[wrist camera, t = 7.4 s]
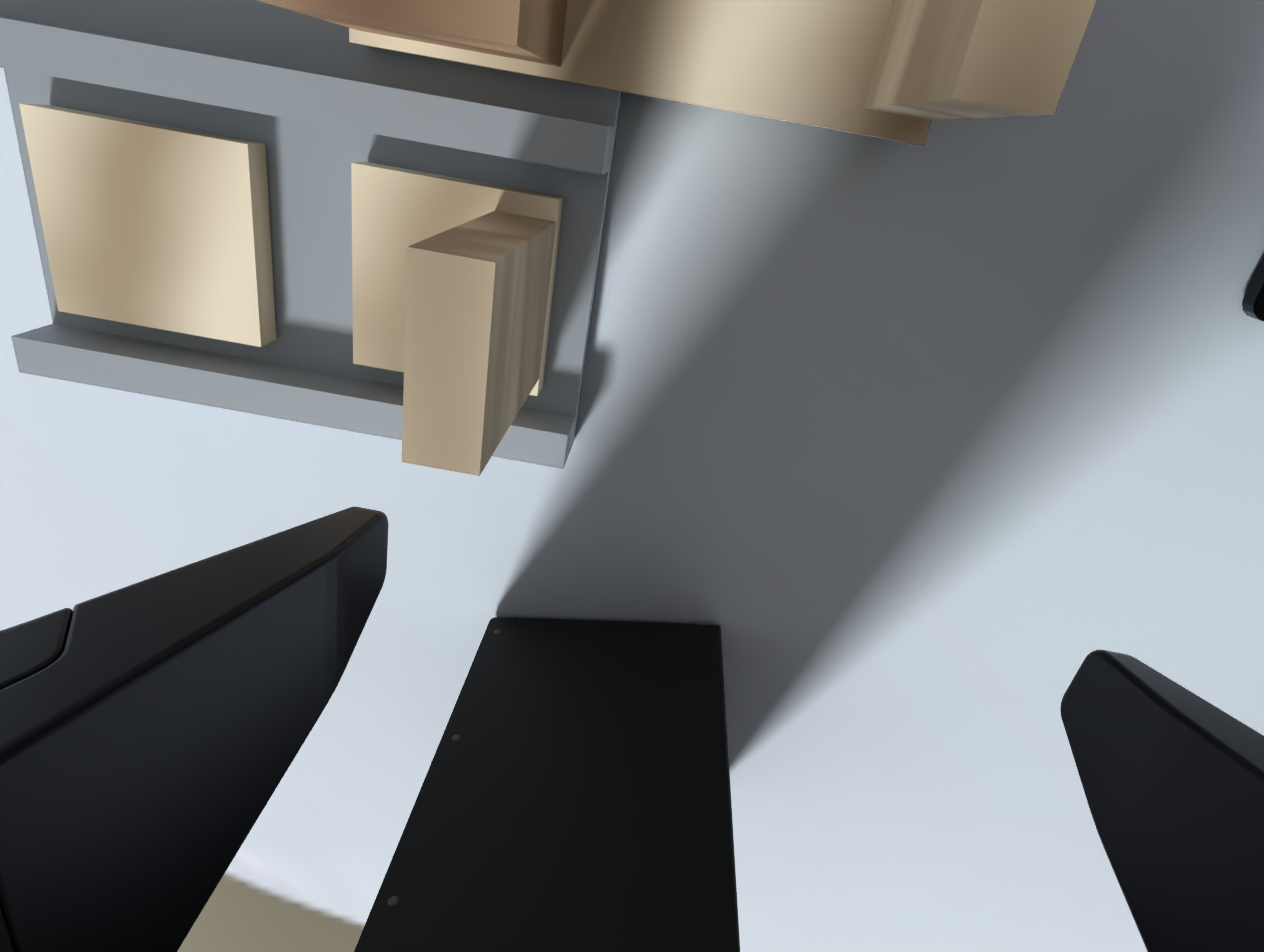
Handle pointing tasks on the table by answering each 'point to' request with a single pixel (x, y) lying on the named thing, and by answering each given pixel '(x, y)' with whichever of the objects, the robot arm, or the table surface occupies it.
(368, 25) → the cube
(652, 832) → the black rectangular block
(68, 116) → the strip broken
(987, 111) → the tan piece
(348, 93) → the lane board
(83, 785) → the robot arm
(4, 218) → the table surface
